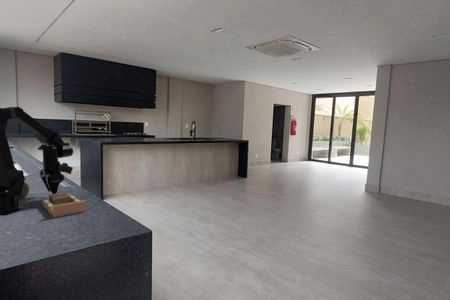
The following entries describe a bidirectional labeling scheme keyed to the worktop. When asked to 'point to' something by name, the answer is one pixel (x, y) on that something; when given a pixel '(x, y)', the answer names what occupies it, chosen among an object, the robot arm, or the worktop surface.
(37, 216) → the worktop surface
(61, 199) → the keeper
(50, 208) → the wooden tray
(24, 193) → the vase
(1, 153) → the robot arm
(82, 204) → the end stop
